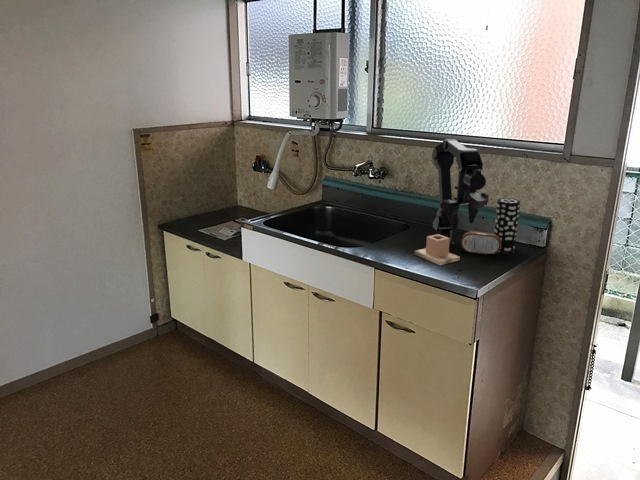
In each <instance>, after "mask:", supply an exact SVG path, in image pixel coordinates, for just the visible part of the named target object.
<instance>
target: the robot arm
mask: <svg viewBox="0 0 640 480" xmlns="http://www.w3.org/2000/svg"><path fill="white" fill-rule="evenodd" d="M431 158H432V160H433V165H434V167H435V168H436V169H437V172H438V173H437V175H438V187H439V188H438V189H439V192H438V193H439V205H440V206H439V208H438V210H437V211H436V217H435V218H434V220H433V222H432V229H434V230H435V233H434V235H437V234H440V235H442V236H445V237H448V238H450V242H449V246H450V245H455V242H454V241H453V233H454V232H453V231H456V230H458V225H459V222H460V218H459V216H458V213H460V210H459V209H460V207H463V206H467V211H468V220H469V224H473V223H474V221H475V219H476V217H477V214H478V212H479V211H480V210H481V209H483V208H484V207H485V206H487V205H488V202H489V195H490V194H489V193H487V192H482V193H478V192H477V191H480V190H482V189H483V188H484V187H485V186H486V183H487V179H486V177H485V175H483V174H482V171H483V170H484V168H483V166H484V164H483V160H482V157H481V153H480V152H479V150H478V149H477V148H473V147H469V148H468V147H466V146H465V145H463V144H462V143H461V142H459V141H458V139H456V138H445V139H443V141H442V142H441V143H440V144H438V145H436V146H435V147H434V148H433V150H432V153H431ZM455 162H456V164H457V166H458V167H457V170H458V175H457V176H458V178H457V185H455V186H454V189H455V190H456V196H454V197H453V195H452V193H453V192H452V180H451V179H452V177H451V168H452V166H453V165H454V163H455Z"/></svg>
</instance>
